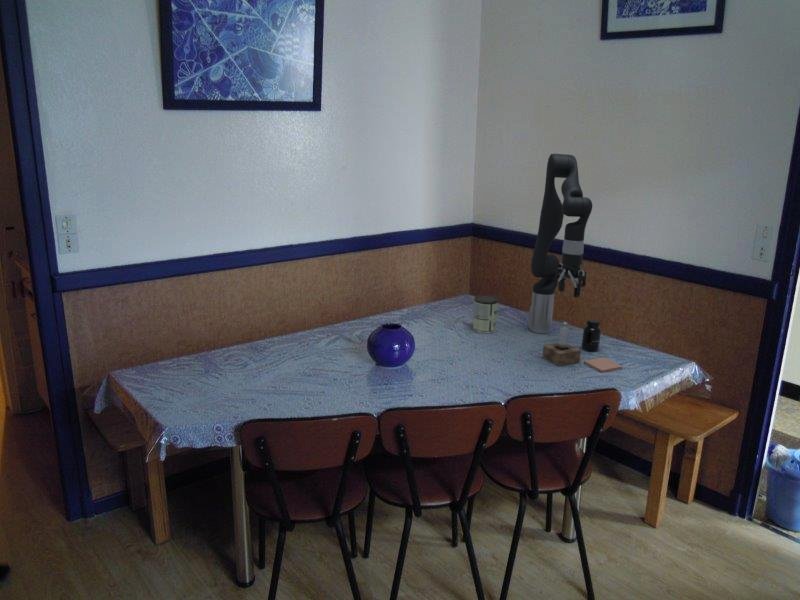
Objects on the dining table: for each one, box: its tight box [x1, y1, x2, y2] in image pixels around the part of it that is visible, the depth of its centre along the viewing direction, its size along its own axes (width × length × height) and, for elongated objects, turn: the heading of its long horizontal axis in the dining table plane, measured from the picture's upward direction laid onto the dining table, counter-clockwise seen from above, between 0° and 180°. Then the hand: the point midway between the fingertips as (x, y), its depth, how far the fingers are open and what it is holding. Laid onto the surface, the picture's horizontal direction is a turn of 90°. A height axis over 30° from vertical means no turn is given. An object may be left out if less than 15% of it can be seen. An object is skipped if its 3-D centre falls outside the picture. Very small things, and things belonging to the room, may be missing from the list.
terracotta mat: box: [583, 356, 623, 374], centre depth 261 cm, size 10×10×1 cm
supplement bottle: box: [581, 318, 602, 353], centre depth 276 cm, size 7×7×12 cm
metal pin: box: [557, 321, 570, 351], centre depth 263 cm, size 3×3×16 cm
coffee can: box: [472, 294, 500, 334], centre depth 295 cm, size 10×10×14 cm
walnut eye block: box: [542, 342, 582, 367], centre depth 265 cm, size 10×10×5 cm
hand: (568, 294), depth 258 cm, fingers open, 8 cm apart
